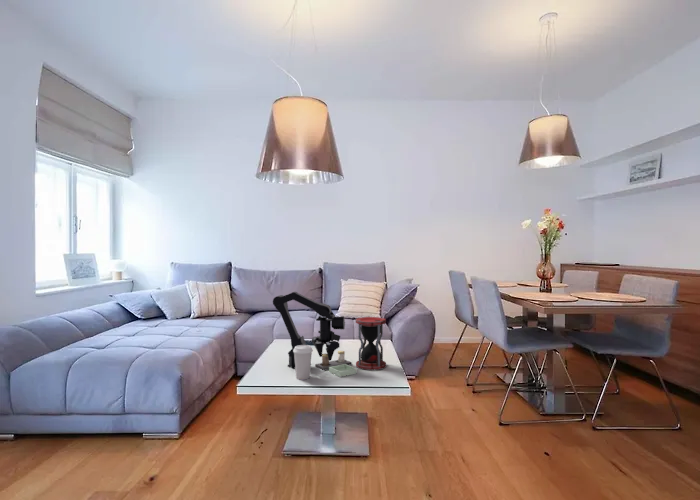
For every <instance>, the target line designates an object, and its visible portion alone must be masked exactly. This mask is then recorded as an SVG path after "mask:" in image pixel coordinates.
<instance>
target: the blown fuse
mask: <svg viewBox="0 0 700 500" xmlns="http://www.w3.org/2000/svg"><path fill="white" fill-rule="evenodd" d="M329 362H330V361H329V359H328V355H327V353H322V357H321V363H322V366H324V367H325V366H329Z"/></svg>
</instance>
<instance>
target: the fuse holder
mask: <svg viewBox="0 0 700 500" xmlns="http://www.w3.org/2000/svg"><path fill="white" fill-rule="evenodd" d="M342 364H347V365H349V366H352V365H353V364H352V361H350V360H347V359H345V363H338V359H337V360H330V361H329V366H325V367H324V366H322V362H320V363H316V364H314V367H315V368H317V369H319V370H321V371H329V367H332V366H337V365H342Z"/></svg>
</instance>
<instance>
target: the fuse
mask: <svg viewBox="0 0 700 500" xmlns="http://www.w3.org/2000/svg"><path fill="white" fill-rule="evenodd" d="M345 353H346V352H345V350H337V360H338V363H345V360H346V359H345V358H346V357H345Z"/></svg>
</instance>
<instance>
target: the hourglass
mask: <svg viewBox="0 0 700 500" xmlns="http://www.w3.org/2000/svg"><path fill="white" fill-rule="evenodd" d="M355 323H356V324H358V340H359V341H360V347H359V348H358V349H359V350H358V360H357V361H356V362H355V368H358V369H359V370H365V371H378V370H383V369H385V368H386V367H387V362H386V361H385V360H384V358H383V357H384V354H383V353H384V347H383V345H382V344H381V340H382V337H383V334H384V333H383V332H384V331H383V330H384V327H383V326H384V324H386V323H387V319H386V318H383V317H380V316H379V317H378V316H366V317H365V316H364V317H358V318H356V319H355ZM362 337H363V339H362ZM374 342H375V343H374ZM379 347H380V348H379Z"/></svg>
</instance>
